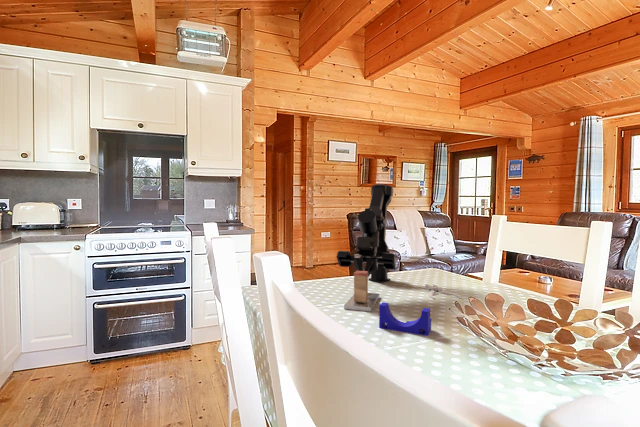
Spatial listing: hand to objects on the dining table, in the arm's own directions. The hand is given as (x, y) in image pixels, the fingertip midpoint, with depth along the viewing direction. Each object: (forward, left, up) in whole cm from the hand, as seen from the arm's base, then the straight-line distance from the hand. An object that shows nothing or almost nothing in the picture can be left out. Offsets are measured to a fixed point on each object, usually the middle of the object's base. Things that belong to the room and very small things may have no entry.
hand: (362, 282), depth 113 cm
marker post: (+2, +1, -5) cm, 6 cm away
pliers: (-30, +9, -7) cm, 32 cm away
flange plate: (-1, -1, -7) cm, 7 cm away
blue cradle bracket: (+8, +22, -7) cm, 24 cm away
